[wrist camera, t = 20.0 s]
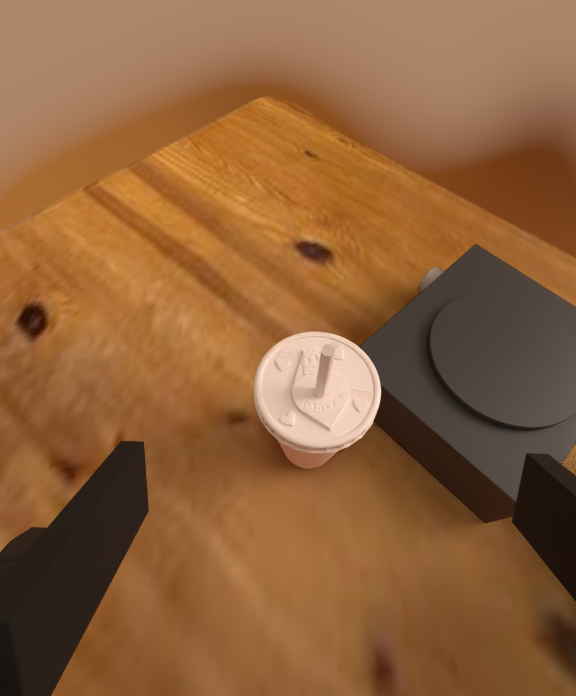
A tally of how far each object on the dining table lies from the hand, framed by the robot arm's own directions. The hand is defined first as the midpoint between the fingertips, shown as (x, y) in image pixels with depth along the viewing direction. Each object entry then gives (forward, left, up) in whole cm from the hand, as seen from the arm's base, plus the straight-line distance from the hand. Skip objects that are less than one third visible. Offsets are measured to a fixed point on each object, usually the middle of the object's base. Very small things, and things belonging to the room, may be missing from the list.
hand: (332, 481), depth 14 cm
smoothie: (-4, +4, -13) cm, 14 cm away
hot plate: (+1, +16, -13) cm, 21 cm away
